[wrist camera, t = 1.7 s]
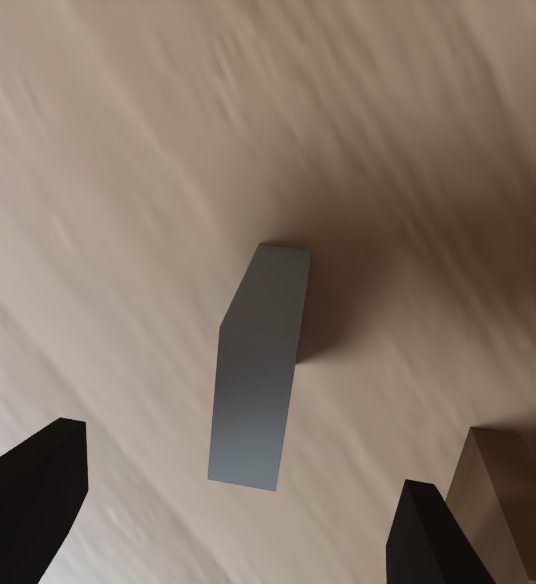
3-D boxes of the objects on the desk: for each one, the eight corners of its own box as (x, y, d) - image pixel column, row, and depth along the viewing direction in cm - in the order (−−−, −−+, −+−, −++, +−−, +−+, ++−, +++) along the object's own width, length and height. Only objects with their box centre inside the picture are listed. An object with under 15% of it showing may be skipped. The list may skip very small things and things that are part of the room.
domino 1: (312, 251, 19) (299, 339, 12) (294, 364, 21) (275, 491, 14) (259, 243, 19) (219, 326, 13) (247, 357, 21) (207, 479, 15)
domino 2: (519, 434, 21) (600, 593, 14) (485, 522, 23) (543, 696, 16) (470, 426, 21) (528, 580, 15) (440, 514, 23) (480, 683, 17)
